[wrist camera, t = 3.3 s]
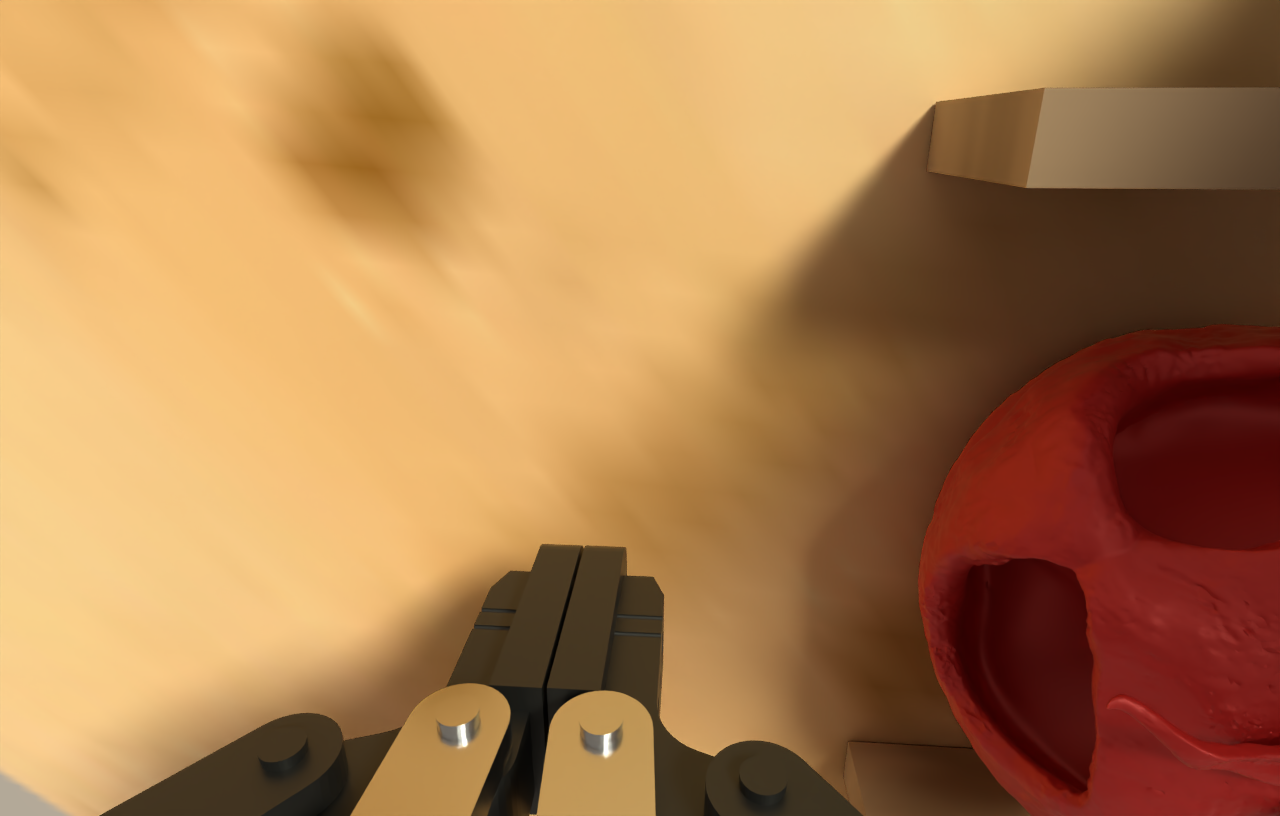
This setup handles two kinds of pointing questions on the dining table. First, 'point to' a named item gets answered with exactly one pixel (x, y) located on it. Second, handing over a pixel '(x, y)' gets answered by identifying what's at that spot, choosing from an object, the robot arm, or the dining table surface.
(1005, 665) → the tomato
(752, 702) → the dining table surface
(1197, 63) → the dining table surface
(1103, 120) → the brown wooden open box
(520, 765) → the robot arm
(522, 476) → the dining table surface
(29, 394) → the dining table surface
